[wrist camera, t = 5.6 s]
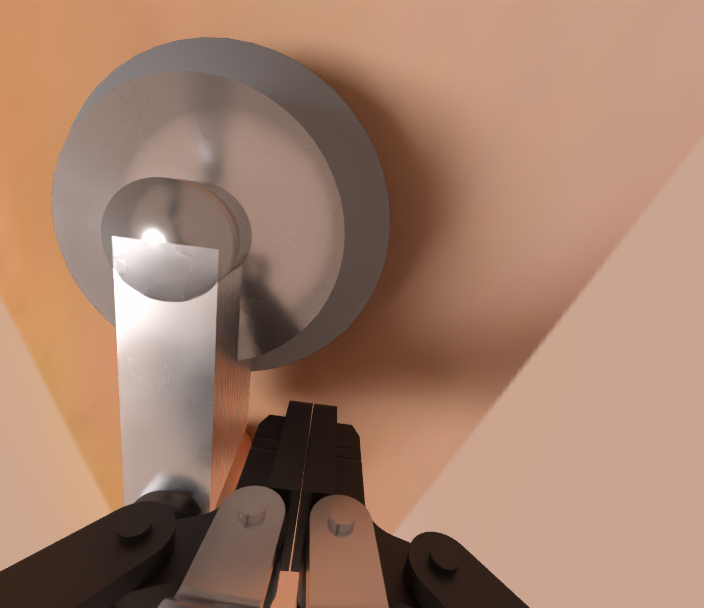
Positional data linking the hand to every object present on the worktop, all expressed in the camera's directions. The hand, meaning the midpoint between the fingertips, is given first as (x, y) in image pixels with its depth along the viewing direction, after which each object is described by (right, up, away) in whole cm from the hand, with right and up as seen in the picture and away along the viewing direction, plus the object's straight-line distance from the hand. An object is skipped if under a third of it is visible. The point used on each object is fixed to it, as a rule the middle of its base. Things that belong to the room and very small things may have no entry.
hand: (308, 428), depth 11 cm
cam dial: (-3, +4, 0) cm, 5 cm away
